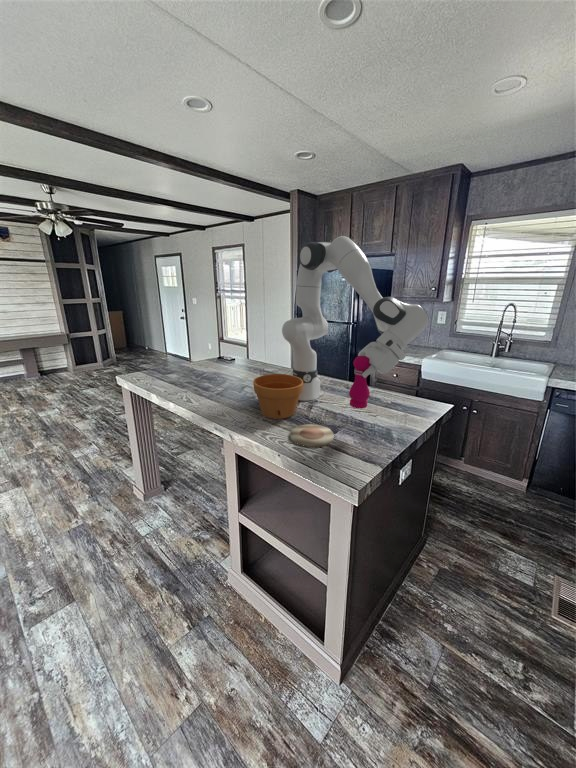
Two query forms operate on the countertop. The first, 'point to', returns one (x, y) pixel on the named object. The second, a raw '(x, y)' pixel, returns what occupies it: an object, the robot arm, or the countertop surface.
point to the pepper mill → (360, 383)
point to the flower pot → (278, 394)
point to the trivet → (312, 435)
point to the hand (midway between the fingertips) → (359, 373)
